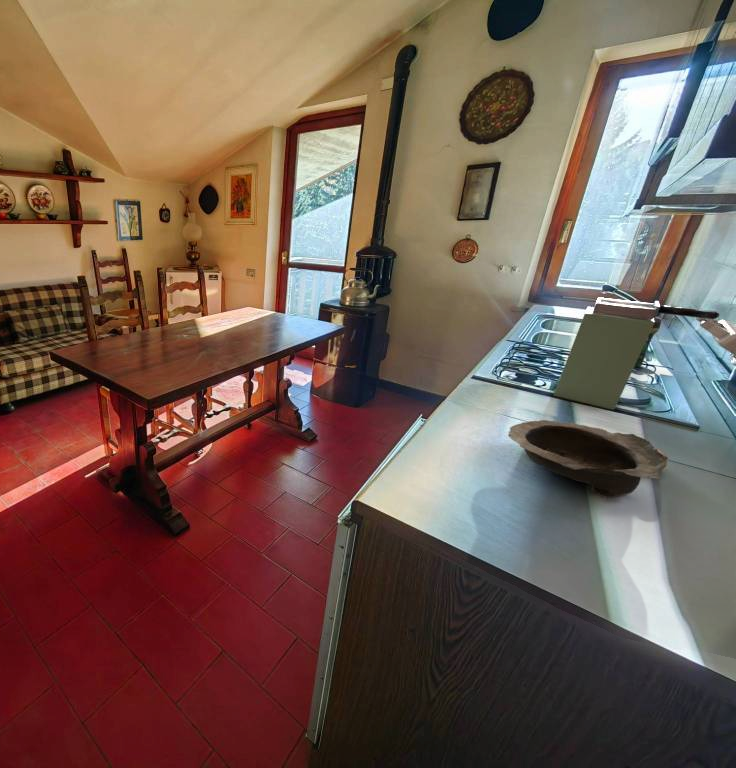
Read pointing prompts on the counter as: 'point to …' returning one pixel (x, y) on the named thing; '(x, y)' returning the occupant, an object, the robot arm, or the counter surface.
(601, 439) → the stone bowl
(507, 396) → the counter surface
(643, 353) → the coffee jar
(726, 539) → the counter surface
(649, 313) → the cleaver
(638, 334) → the sage green block
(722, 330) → the robot arm
